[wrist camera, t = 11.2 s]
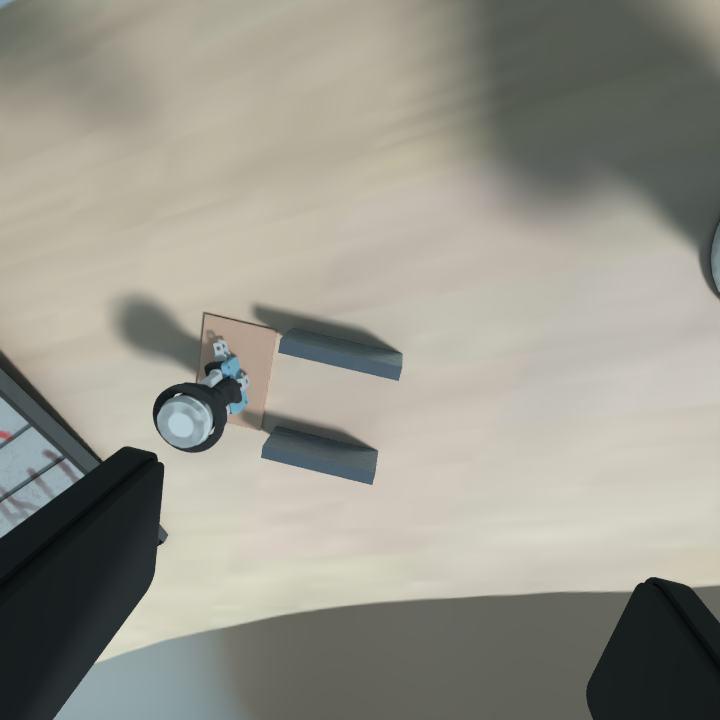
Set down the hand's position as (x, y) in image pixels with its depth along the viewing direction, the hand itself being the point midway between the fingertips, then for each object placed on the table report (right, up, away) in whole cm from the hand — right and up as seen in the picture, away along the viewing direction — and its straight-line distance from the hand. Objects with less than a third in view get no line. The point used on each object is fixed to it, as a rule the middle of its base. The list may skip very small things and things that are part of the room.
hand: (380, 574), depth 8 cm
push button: (-12, +3, +32) cm, 34 cm away
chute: (-3, +1, +32) cm, 32 cm away
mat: (-12, +3, +32) cm, 34 cm away
